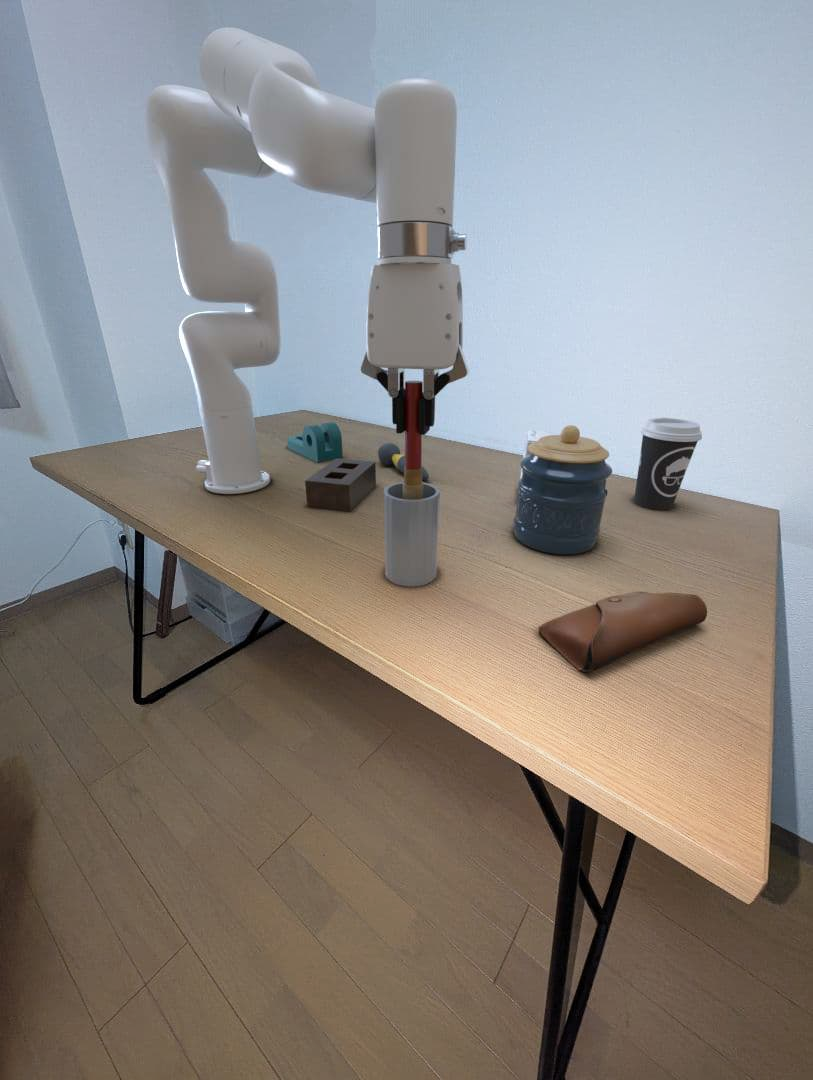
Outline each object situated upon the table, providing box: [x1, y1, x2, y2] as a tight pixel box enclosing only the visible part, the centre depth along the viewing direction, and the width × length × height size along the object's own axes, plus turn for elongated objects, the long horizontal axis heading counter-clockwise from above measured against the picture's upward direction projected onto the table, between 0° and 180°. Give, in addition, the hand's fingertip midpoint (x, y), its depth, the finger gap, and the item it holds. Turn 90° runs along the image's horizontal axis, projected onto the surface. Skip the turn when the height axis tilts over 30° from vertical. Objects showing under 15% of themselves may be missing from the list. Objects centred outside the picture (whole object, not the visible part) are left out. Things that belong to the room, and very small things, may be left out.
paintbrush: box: [377, 442, 430, 481], centre depth 103 cm, size 20×5×5 cm, turn 38°
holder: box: [304, 458, 377, 512], centre depth 90 cm, size 8×14×5 cm, turn 165°
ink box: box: [519, 430, 554, 480], centre depth 88 cm, size 9×5×12 cm, turn 167°
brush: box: [402, 380, 425, 500], centre depth 57 cm, size 3×3×16 cm
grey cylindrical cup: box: [383, 481, 441, 588], centre depth 62 cm, size 7×7×12 cm
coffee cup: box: [633, 417, 703, 511], centre depth 84 cm, size 10×10×15 cm
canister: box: [512, 424, 613, 555], centre depth 71 cm, size 13×13×18 cm
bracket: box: [286, 421, 344, 464], centre depth 116 cm, size 18×7×8 cm, turn 39°
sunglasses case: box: [538, 591, 708, 673], centre depth 52 cm, size 18×7×7 cm
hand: (413, 430), depth 56 cm, fingers closed on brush, 2 cm apart
